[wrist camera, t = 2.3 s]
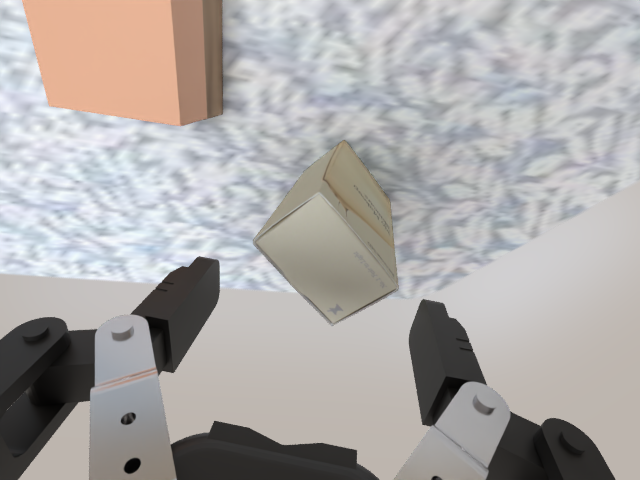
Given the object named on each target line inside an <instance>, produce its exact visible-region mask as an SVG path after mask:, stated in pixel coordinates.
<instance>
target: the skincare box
mask: <svg viewBox="0 0 640 480" xmlns="http://www.w3.org/2000/svg"><path fill="white" fill-rule="evenodd" d="M253 244H254V246H255V247H256V248H257V249H258V250H259V251H260V252H261V253H262V254H263V255H264V256H265V257H266V259H267V260H268V261H269V262H270V263H271V264H272V265H273V266H274V267H275V268H276V269H277V270H278V271H279V273H280V274H281V275H282V276H283V277H284V278H285V279H286V280H287V281H288V282H289V283H290V284H291V286H292V287H293V288H294V289H295V290H296V291H297V292H298V293H299V294H300V295H301V296H303V298H304V299H305V300H306V301H307V302H308V303H309V304H310V305H311V306H312V307H313V308H314V309H315V310H316V311H317V312H318V313H319V314H320V315H321V316H322V317H323V318H324V319H325V320H326V321H327V322H328V323H329V324H330V325H331V326H333V325H335V324H337V323H339V322H341V321H343V320H345V319H346V318H348V317H350V316H353V315H354V314H356V313H358V312H360V311H362V310H364V309H366V308H367V307H369V306H371V305H373V304H375V303H377V302H379V301H380V300H382V299H384V298H386V297H387V296H389V295H391V294H392V293H394V292H396V291H397V290H398V289H399V286H398V278H397V268H396V258H395V249H394V238H393V228H392V218H391V206H390V200H389V198H388V197H387V196H386V194H385V193H384V192H383V190H382V189H381V187H380V186H379V185H378V183H377V182H376V180H375V179H374V178H373V176H372V175H371V174H370V172H369V171H368V170H367V168H366V167H365V166H364V164H363V163H362V162H361V160H360V159H359V158H358V156H357V155H356V154H355V152H354V151H353V150H352V148H351V147H350V146H349V145H348V143H347V142H346V141H345V140H343V141H342V142H341V143H339V144H338V145H337V146H335V147H334V148H333V149H331V150H330V151H329V152H327V153H326V154H325V155H324V156H322V157H321V158H320V159H319V160H317V161H316V162H315V163H314V164H312V165H311V166H310V167H309V168H308V169H306V170H305V171H304V172H303V174H302V175H301V176H300V178H299V179H298V180H297V182H296V183H295V185H294V186H293V187H292V189H291V190H290V191H289V193H288V194H287V195H286V197H285V198H284V199H283V201H282V202H281V203H280V205H279V206H278V207H277V209H276V210H275V212H274V213H273V214H272V216H271V217H270V218H269V220H268V221H267V222H266V224H265V225H264V226H263V228H262V229H261V230H260V232H259V233H258V234H257V236H256V237H255V238H254V240H253Z"/></svg>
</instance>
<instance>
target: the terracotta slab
mask: <svg viewBox="0 0 640 480" xmlns="http://www.w3.org/2000/svg"><path fill="white" fill-rule="evenodd" d="M22 2H23V6H24V10H25V14H26V18H27V21H28V25H29V29H30V33H31V37H32V41H33V45H34V49H35V53H36V57H37V60H38V64H39V68H40V72H41V76H42V80H43V84H44V88H45V92H46V96H47V100H48V103H49V106H52V107H59V108H65V109H72V110H78V111H85V112H91V113H98V114H105V115H111V116H118V117H124V118H131V119H137V120H144V121H150V122H157V123H163V124H170V125H177V126H183V125H186V124H190V123H193V122H196V121H200V120H203V119H206V118H207V99H206V75H205V51H204V27H203V3H202V0H22Z"/></svg>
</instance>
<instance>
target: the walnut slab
mask: <svg viewBox="0 0 640 480" xmlns="http://www.w3.org/2000/svg"><path fill="white" fill-rule="evenodd" d="M202 3H203V27H204V51H205V75H206V99H207V118H206V119H208V118H212V117H215V116H218V115H222V114H223V77H222V0H202ZM203 120H205V119H203Z"/></svg>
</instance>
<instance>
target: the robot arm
mask: <svg viewBox="0 0 640 480" xmlns="http://www.w3.org/2000/svg"><path fill="white" fill-rule="evenodd" d="M219 292H220V271H219V261H218V260H216V259H210V258H205V257H200V256H199V257H197V258H196V259H195V260H194V261H193V263H192V264H191V265H190V266H189V267H184V266H182V267H180V268H178V269H176V270H174V271H172V272H170V273H169V274H168V276H167V277H166V278H165V279H164V280H163V281H162V283H160V284H159V285H158V286H157V287H156V289H155V290H153V291H152V292H151V293H150V294H149V295H148V296H147V298H145V300H144V301H143V302H142V303H141V304H140V305H139V306H138V307H137V308H136V309H135V310H134V311H133V312H132V313H131V314H130V315H122V316H118V317H115V318H112V319H110V320H108V321H106V322H105V323H104V324H102V325H101V326H100V327H99V328H98V329H95V330H77V331H68V329H67V325H66V323H65V322H64V321H63V320H62V319H59V318H55V317H45V318H39V319H35V320H31V321H28V322H26V323H24V324H21V325H20V326H18V327H16V328H15V329H13V330H12V331H11V332H9V333H8V334H7V335H6V336H5V337H3V338H2V339H1V340H0V480H18V479H19V478H20V476H21V475H22V474H23V472H24V471H25V470H26V469H27V467H28V466H29V465H30V463H31V462H32V461H33V460H34V458H35V457H36V456H37V455H38V453H39V452H40V451H41V449H42V448H43V447H44V446H45V444H46V443H47V442H48V441H49V439H50V438H51V437H52V435H53V434H54V433H55V432H56V430H57V429H58V428H59V427H60V425H61V424H62V423H63V421H64V420H65V419H66V417H67V416H68V415H69V414H70V412H71V411H72V410H73V409H74V407H75V406H76V405H77V404H78V402H83V401H90V448H89V480H379V479H378V478H377V477H376V476H375V475H374V474H373V473H371V472H370V471H369V470H367V469H366V468H364V467H363V466H361V465H359V464H357V450H353V449H348V448H343V447H338V446H333V445H329V444H324V443H316V444H315V443H313V444H298V445H281V444H279V443H277V442H275V441H273V440H271V439H269V438H267V437H266V436H264V435H262V434H260V433H258V432H256V431H254V430H252V429H250V428H247V427H242V426H237V425H232V424H227V423H222V422H218V421H214V423H213V425H212V428H211V430H210V433H202V434H196V435H192V436H189V437H186V438H184V439H182V440H179V441H177V442H175V443H173V444H170V439H169V434H168V428H167V423H166V417H165V412H164V406H163V400H162V395H161V389H160V384H159V378H158V376H159V374H160V373H161V372H162V371H166V372H171V373H174V372H175V370H176V369H177V367H178V365H179V364H180V362H181V361H182V359H183V357H184V356H185V354H186V353H187V351H188V349H189V348H190V346H191V345H192V343H193V342H194V340H195V338H196V337H197V335H198V334H199V332H200V330H201V329H202V327H203V326H204V324H205V322H206V321H207V319H208V318H209V316H210V314H211V313H212V311H213V310H214V308H215V306H216V304H217V302H218V298H219ZM409 348H410V354H411V360H412V365H413V371H414V377H415V383H416V389H417V395H418V400H419V407H420V413H421V419H422V424H423V425H427V426H431V428H430V429H429V430H428V431H427V433H426V434H425V436H424V437H423V439H422V440H421V441H420V443H419V444H418V446H417V447H416V449H415V450H414V451H413V453H412V454H411V456H410V457H409V458H408V460H407V461H406V463H405V464H404V465H403V467H402V468H401V470H400V471H399V473H398V474H397V475H396V477H395V478H394V480H615V478H614V476H613V474H612V473H611V471H610V469H609V467H608V466H607V464H606V462H605V460H604V458H603V457H602V455H601V453H600V451H599V450H598V448H597V447H596V445H595V444H594V443H593V441H592V440H591V439H590V438H589V437H588V436H587V435H585V433H584V432H582V431H581V430H580V429H578V428H577V427H575V426H574V425H572V424H570V423H568V422H566V421H564V420H561V419H556V418H550V419H547V420H545V421H544V423H543V424H542V425H541V426H539V425H537V424H535V423H533V422H531V421H529V420H527V419H524V418H522V417H520V416H518V415H516V414H514V413H512V412H511V411H510V410H509V407H508V405H507V404H506V402H505V400H504V399H503V398H502V397H501V396H500V395H499V394H498V393H497V392H496V391H495V390H493V389H492V388H490V387H488V386H487V384H486V381H485V379H484V377H483V374H482V371H481V369H480V366H479V364H478V361H477V359H476V356H475V354H474V352H473V349H472V346H471V343H469V338H468V336H467V333H466V331H465V329H464V328H463V327H462V326H461V324H460V323H459V322H458V321H457V320H456V319H454V318H449V316H448V314H447V311H446V308H445V305H444V304H443V303H440V302H435V301H430V300H424V299H423V300H422V301H421V303H420V305H419V308H418V310H417V313H416V316H415V319H414V321H413V324H412V327H411V330H410V334H409ZM11 405H12V406H11ZM10 406H11V407H10ZM9 407H10V408H9ZM8 408H9V409H8ZM7 409H8V410H7Z"/></svg>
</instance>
